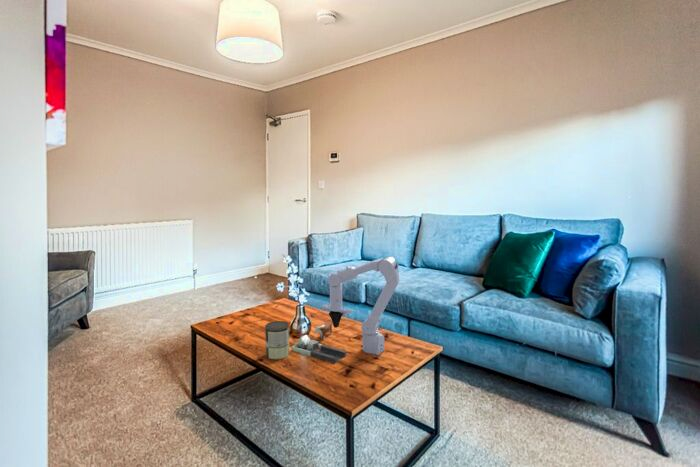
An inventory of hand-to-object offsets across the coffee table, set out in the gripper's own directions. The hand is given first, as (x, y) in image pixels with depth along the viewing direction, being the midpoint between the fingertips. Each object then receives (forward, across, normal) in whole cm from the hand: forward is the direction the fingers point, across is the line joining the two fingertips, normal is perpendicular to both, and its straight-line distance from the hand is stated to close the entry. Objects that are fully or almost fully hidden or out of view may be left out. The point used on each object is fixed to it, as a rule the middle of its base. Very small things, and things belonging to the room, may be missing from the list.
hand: (336, 326), depth 171 cm
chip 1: (+8, +12, +10) cm, 18 cm away
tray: (+9, +8, +11) cm, 17 cm away
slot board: (+9, -4, +11) cm, 15 cm away
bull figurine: (+10, +10, -4) cm, 14 cm away
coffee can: (+10, +16, +22) cm, 29 cm away
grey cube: (+9, +6, +10) cm, 15 cm away
